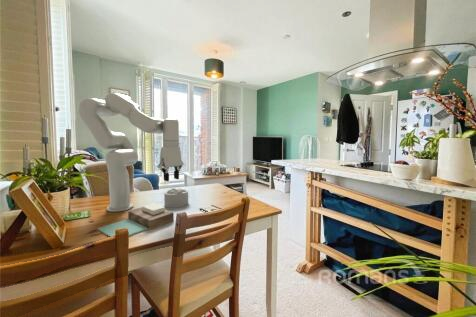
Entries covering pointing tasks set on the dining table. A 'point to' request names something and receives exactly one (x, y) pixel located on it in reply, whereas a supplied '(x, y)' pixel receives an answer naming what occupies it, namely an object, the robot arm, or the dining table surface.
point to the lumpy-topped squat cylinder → (176, 197)
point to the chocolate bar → (210, 208)
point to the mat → (127, 223)
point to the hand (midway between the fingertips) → (171, 179)
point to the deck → (150, 218)
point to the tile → (153, 208)
